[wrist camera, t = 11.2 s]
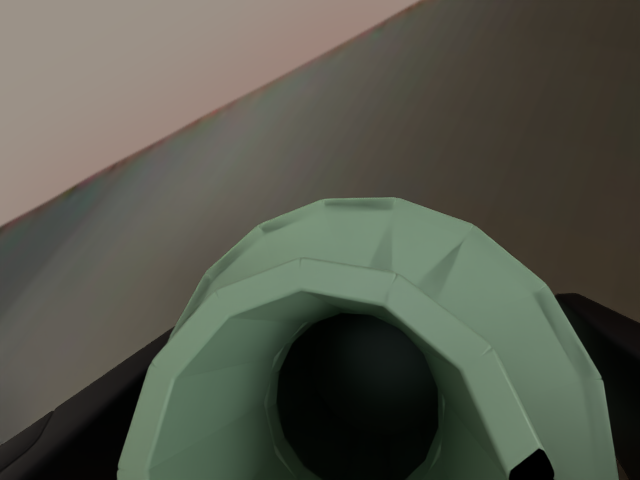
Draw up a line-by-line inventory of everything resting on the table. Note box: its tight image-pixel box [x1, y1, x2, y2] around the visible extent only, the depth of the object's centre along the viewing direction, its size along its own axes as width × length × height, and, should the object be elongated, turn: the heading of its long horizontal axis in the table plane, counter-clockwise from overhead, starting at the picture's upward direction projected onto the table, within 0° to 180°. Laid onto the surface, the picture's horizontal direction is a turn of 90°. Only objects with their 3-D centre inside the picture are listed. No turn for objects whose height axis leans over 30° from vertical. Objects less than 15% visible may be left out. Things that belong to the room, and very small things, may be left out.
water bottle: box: [117, 197, 619, 480], centre depth 8 cm, size 7×7×12 cm
